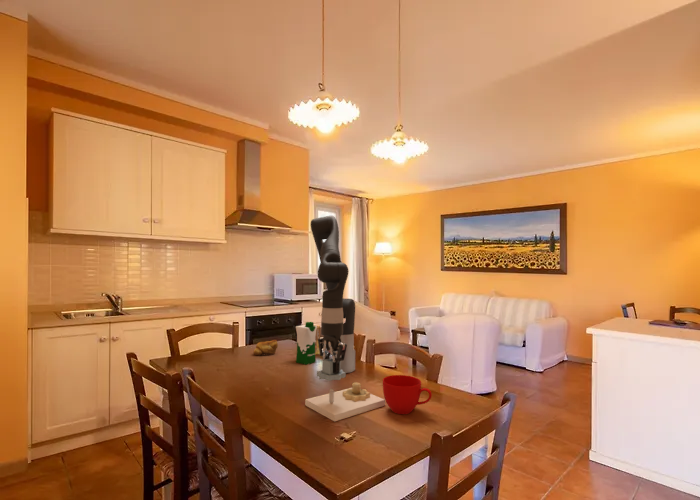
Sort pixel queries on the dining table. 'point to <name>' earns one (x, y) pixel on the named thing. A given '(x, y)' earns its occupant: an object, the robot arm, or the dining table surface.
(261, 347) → the bread roll
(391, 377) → the ceramic cup
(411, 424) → the dining table surface
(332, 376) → the planet gear
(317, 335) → the candy box
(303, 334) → the milk carton
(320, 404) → the carrier plate
